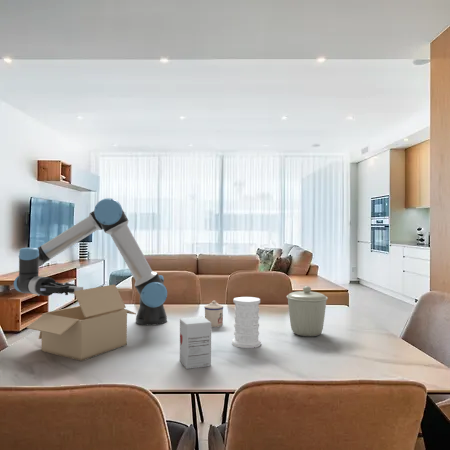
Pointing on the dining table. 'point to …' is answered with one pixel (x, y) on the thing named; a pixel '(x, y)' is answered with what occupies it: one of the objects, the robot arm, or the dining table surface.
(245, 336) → the decorative container
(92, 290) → the carton flap
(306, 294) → the canister
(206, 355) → the supplement box
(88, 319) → the carton
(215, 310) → the teacup with lid
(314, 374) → the dining table surface
